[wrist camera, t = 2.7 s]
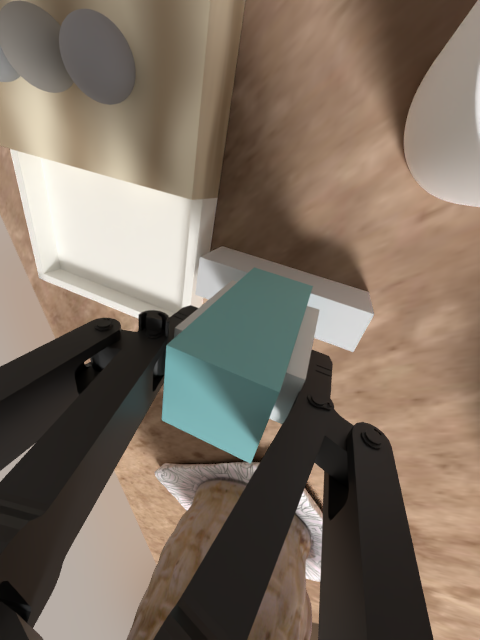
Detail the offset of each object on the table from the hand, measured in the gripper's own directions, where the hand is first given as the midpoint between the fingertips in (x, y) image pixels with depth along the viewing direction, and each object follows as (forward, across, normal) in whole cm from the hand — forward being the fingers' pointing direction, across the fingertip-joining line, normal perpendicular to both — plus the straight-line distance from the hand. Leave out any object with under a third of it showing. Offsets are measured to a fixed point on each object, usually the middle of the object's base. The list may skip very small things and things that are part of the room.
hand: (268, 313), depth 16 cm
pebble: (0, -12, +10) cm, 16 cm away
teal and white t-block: (+6, 0, 0) cm, 6 cm away
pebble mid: (0, -16, +10) cm, 19 cm away
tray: (+6, -16, -1) cm, 17 cm away
